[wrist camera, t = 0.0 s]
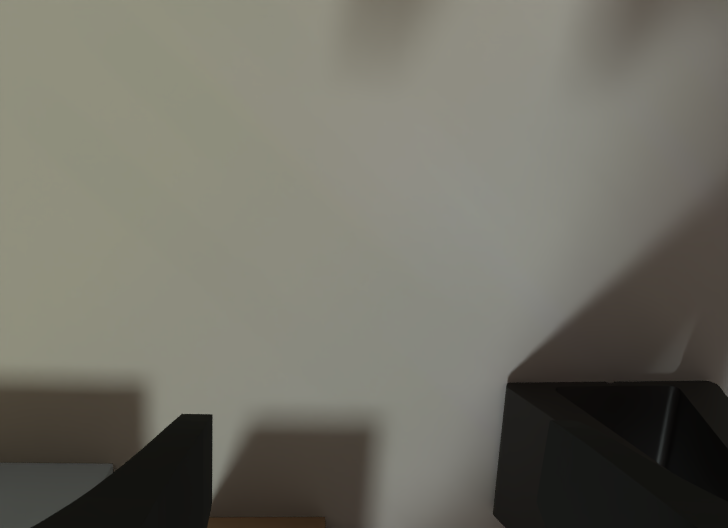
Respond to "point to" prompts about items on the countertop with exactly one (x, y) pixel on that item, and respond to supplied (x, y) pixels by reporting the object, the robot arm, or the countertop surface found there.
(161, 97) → the countertop surface
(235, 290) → the countertop surface
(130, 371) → the countertop surface
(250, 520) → the walnut cube
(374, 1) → the countertop surface
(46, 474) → the grey base block
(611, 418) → the phone stand
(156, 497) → the robot arm
